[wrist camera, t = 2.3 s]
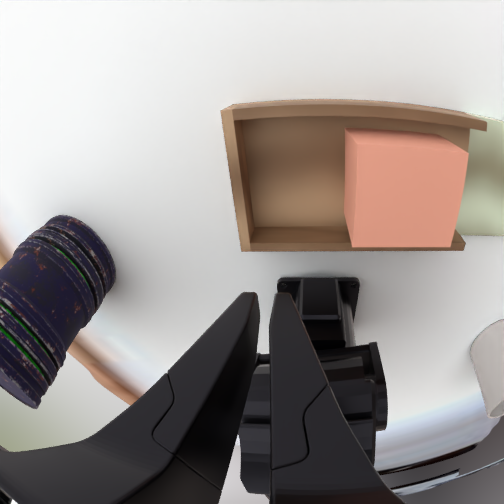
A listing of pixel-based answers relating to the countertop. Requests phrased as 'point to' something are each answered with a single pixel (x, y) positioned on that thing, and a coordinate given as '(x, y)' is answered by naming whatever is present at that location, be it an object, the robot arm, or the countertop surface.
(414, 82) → the countertop surface
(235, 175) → the wooden tray
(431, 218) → the block
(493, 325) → the cup
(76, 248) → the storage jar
